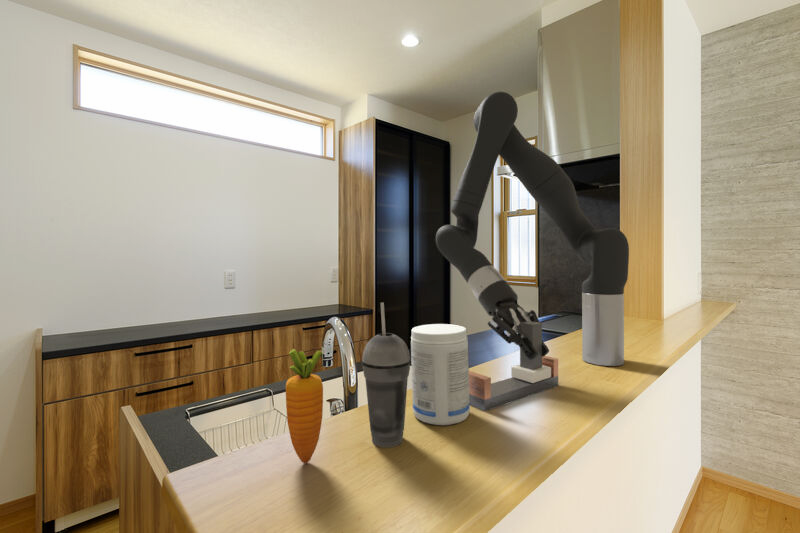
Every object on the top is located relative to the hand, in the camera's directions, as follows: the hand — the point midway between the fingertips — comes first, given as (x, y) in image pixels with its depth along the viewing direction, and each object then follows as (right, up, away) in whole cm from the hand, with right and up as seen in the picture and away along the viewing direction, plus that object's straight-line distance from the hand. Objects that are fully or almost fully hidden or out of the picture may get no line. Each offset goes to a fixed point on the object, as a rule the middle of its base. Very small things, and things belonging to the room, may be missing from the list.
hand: (539, 355), depth 74 cm
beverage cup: (-30, -8, -19) cm, 36 cm away
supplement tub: (-21, -8, -11) cm, 25 cm away
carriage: (-1, -5, +2) cm, 5 cm away
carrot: (-40, -8, -25) cm, 48 cm away
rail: (-6, -7, -1) cm, 9 cm away
